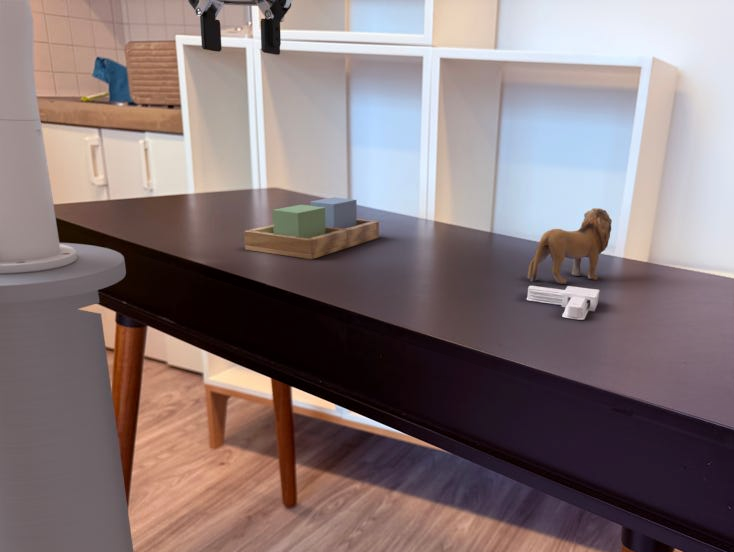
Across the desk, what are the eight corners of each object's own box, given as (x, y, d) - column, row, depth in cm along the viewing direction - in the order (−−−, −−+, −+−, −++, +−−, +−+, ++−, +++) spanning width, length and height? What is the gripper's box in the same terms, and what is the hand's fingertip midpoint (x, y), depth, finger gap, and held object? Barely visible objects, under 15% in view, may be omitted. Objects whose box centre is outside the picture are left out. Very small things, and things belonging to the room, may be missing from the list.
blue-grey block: (334, 238, 99) (333, 204, 98) (310, 234, 101) (310, 201, 99) (356, 231, 106) (356, 199, 104) (334, 228, 107) (334, 197, 105)
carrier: (311, 259, 89) (311, 240, 88) (245, 249, 92) (244, 230, 91) (379, 237, 107) (379, 221, 106) (321, 230, 109) (321, 214, 109)
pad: (299, 249, 91) (298, 212, 89) (274, 246, 92) (272, 209, 90) (325, 242, 97) (325, 207, 96) (301, 238, 98) (301, 204, 97)
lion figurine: (583, 268, 95) (591, 205, 92) (614, 276, 92) (623, 210, 88) (515, 281, 85) (521, 210, 82) (547, 290, 81) (555, 216, 78)
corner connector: (516, 311, 72) (517, 296, 71) (530, 294, 79) (532, 281, 79) (589, 321, 70) (591, 306, 70) (597, 303, 77) (599, 289, 77)
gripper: (158, -103, 84) (169, 45, 90) (273, -107, 79) (277, 51, 84) (200, -85, 90) (208, 52, 96) (309, -88, 85) (311, 58, 91)
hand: (241, 51), depth 90 cm, fingers open, 9 cm apart
